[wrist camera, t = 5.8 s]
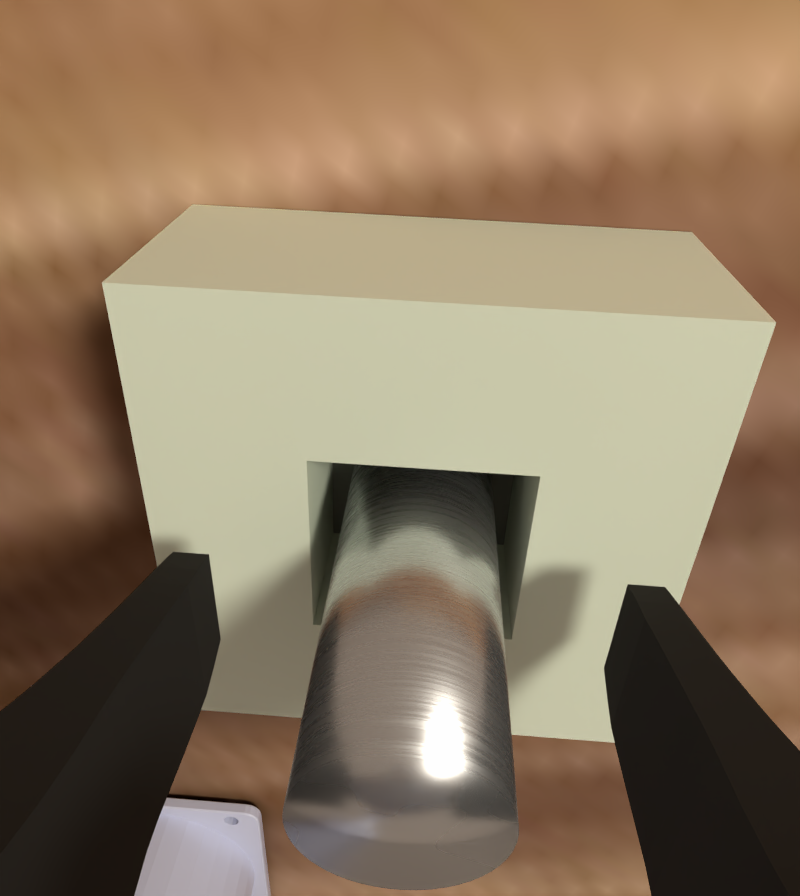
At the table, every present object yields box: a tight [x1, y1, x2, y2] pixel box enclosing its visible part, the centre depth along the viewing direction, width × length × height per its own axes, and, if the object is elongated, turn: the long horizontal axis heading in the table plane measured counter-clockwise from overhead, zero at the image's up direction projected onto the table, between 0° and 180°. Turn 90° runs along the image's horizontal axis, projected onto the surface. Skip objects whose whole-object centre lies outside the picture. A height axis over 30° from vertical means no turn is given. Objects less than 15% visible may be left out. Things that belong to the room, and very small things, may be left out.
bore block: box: [102, 204, 776, 743], centre depth 15 cm, size 10×10×4 cm
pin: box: [283, 464, 519, 890], centre depth 13 cm, size 3×3×8 cm
